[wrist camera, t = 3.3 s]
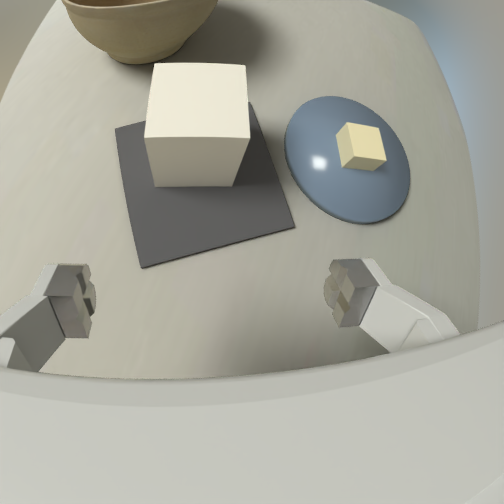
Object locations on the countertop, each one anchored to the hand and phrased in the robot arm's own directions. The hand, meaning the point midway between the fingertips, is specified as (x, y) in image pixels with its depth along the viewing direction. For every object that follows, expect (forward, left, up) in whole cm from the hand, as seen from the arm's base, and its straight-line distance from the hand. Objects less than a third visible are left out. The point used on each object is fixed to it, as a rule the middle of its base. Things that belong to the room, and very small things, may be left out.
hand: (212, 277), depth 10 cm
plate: (+9, -18, -15) cm, 25 cm away
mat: (+10, -3, -15) cm, 18 cm away
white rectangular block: (+12, -3, -14) cm, 19 cm away
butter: (+9, -18, -15) cm, 25 cm away
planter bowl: (+29, -1, -15) cm, 32 cm away
